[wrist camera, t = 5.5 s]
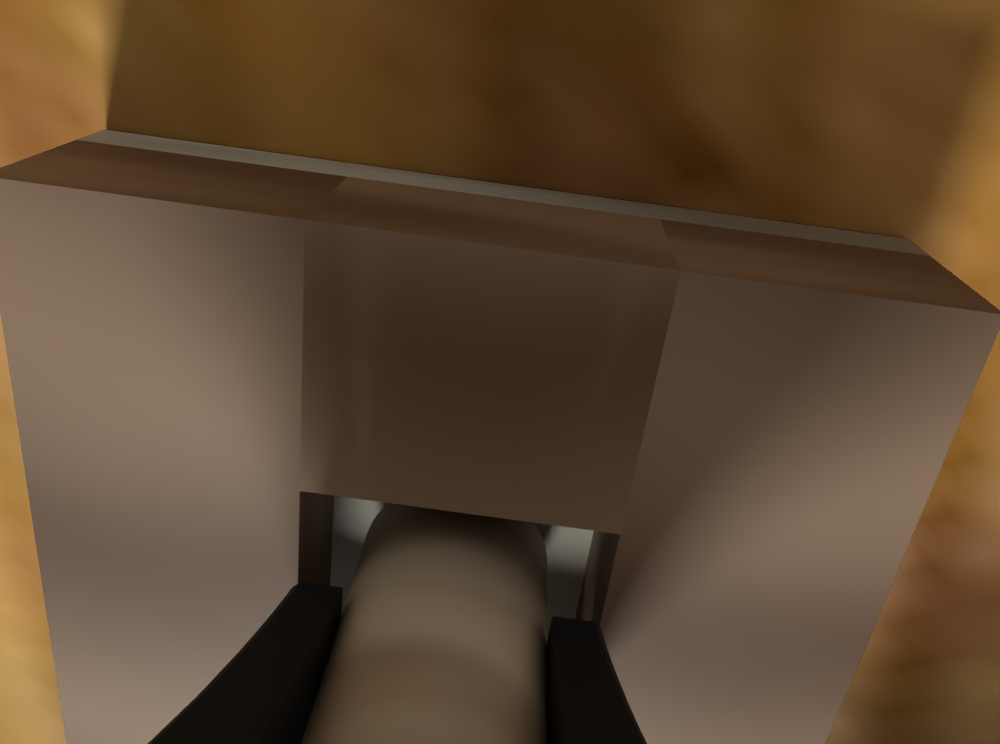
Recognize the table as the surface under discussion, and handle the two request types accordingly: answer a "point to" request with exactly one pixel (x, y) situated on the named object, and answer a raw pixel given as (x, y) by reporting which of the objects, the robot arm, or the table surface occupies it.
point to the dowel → (439, 635)
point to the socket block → (466, 416)
